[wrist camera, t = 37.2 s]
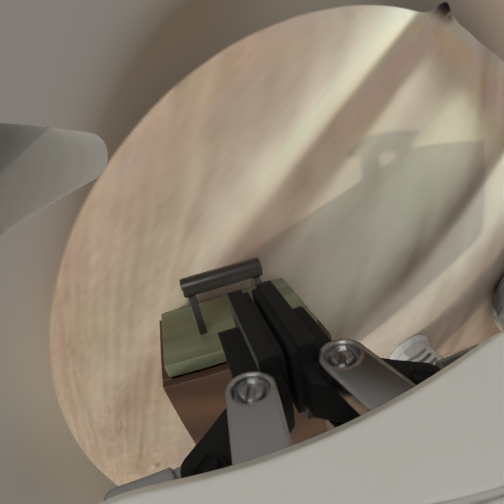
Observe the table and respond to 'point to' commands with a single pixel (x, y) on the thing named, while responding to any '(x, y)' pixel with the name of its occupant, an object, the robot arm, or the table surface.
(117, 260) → the table surface
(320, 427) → the cabinet
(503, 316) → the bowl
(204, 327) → the drawer
